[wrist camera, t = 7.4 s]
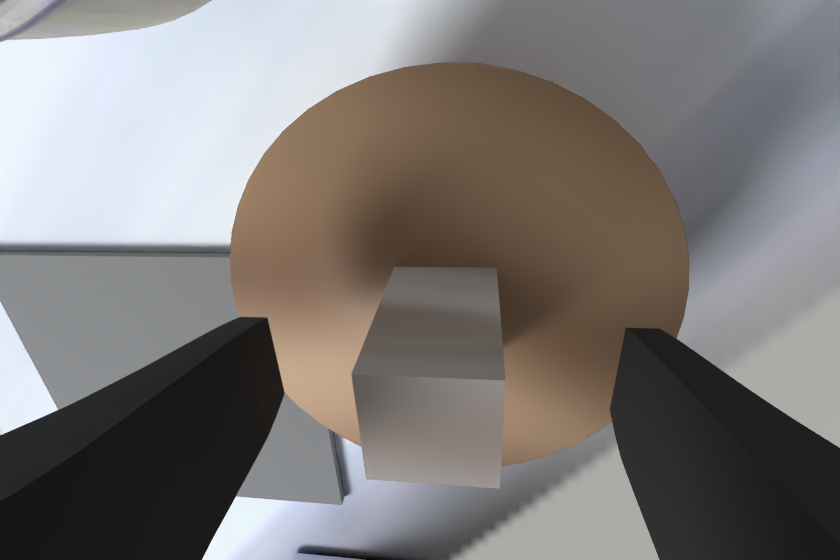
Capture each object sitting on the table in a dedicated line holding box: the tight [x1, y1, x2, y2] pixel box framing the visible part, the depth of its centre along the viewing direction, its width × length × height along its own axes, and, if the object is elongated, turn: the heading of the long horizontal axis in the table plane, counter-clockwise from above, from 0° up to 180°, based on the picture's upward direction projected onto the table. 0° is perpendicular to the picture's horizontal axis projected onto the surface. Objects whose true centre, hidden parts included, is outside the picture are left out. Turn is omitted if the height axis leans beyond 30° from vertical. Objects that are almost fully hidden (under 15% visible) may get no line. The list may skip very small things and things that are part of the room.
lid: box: [230, 63, 689, 489], centre depth 9 cm, size 11×11×5 cm
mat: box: [0, 251, 344, 505], centre depth 19 cm, size 13×13×1 cm
